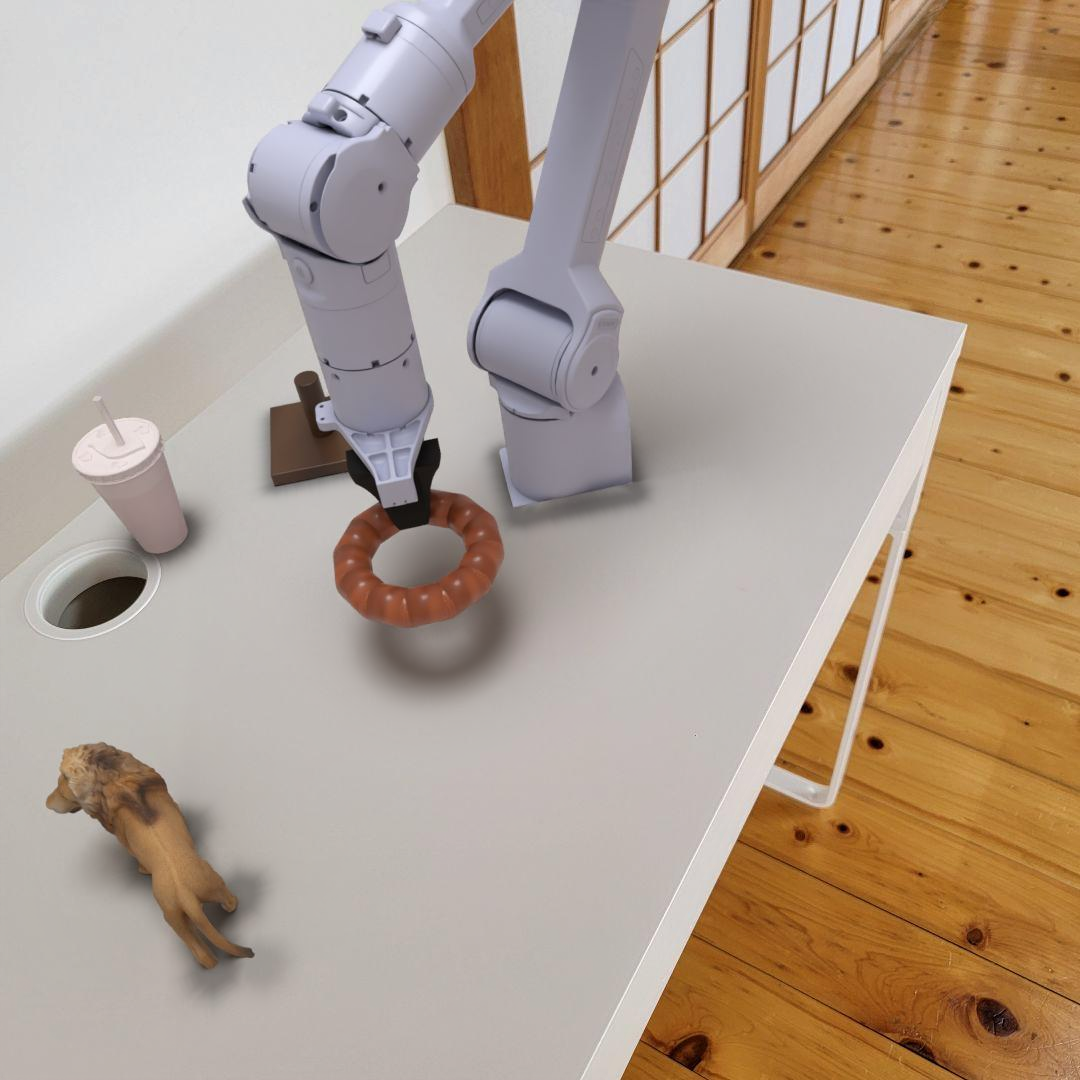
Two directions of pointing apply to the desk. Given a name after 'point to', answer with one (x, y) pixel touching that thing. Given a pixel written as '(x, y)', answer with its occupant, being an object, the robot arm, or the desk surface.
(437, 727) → the desk surface
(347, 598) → the ring
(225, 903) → the lion figurine
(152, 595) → the desk surface
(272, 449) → the peg stand
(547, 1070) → the desk surface
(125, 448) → the smoothie
